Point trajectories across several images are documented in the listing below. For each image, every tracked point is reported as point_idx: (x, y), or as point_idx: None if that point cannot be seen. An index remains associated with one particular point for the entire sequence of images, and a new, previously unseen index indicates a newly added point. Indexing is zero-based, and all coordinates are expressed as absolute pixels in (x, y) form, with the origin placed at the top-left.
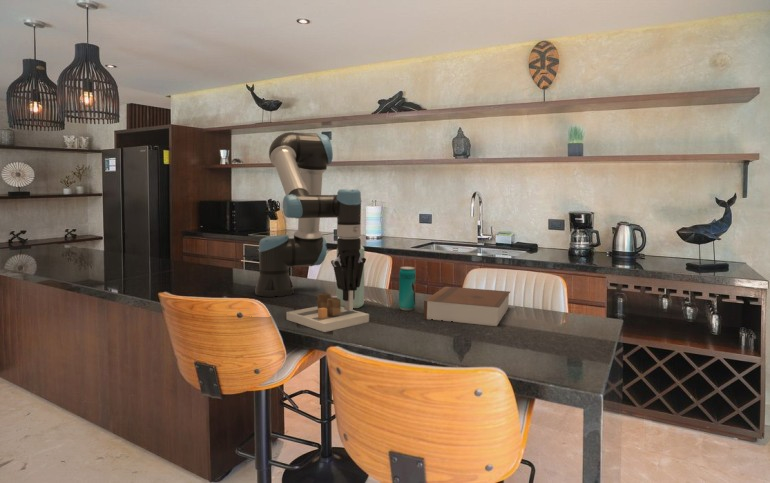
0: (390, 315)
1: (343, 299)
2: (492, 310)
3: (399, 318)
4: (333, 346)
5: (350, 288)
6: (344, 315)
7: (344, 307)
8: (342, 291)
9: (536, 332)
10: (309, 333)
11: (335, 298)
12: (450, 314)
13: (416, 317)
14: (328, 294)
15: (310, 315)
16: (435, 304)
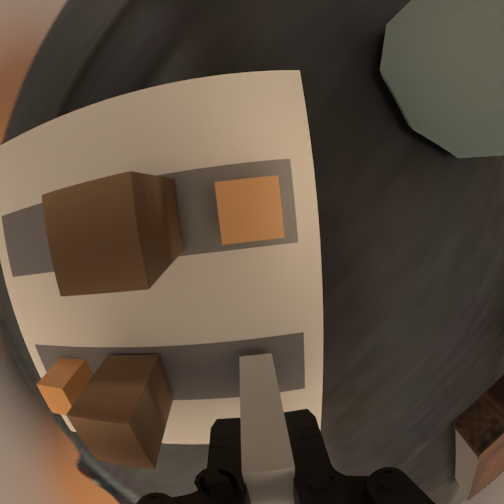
0: (444, 354)
1: (213, 428)
2: (466, 493)
3: (426, 401)
4: (87, 478)
5: (295, 499)
6: (197, 401)
7: (240, 366)
8: (442, 55)
9: (443, 499)
10: None
11: (128, 440)
12: (463, 458)
13: (458, 403)
14: (127, 277)
15: (39, 293)
16: (475, 459)
